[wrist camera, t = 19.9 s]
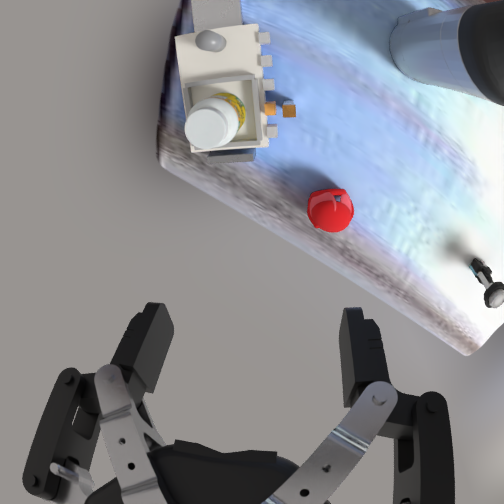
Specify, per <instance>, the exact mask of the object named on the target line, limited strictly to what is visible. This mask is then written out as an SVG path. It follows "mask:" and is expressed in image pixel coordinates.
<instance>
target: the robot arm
mask: <svg viewBox="0 0 504 504" xmlns="http://www.w3.org/2000/svg"><path fill="white" fill-rule="evenodd" d="M389 43H390V52H391V56H392V58H393V60H394V62H395V64H396V65H397V67H398V68H399V69H400V71H401V72H402V73H403V74H405V75H406V76H407V77H408V78H410V79H412V80H414V81H417V82H420V83H423V84H428V85H434V86H438V87H442V88H447V89H451V90H454V91H458V92H462V93H466V94H469V95H472V96H476V97H479V98H482V99H485V100H488V101H491V102H494V103H497V104H499V105H502V106H504V0H502V1H496V2H490V3H485V4H479V5H473V6H467V7H462V8H457V9H452V10H447V11H441V10H438V9H434V8H429V7H428V8H425V9H422V10H418V11H415V12H412V13H410V14H407V15H404V16H401V17H399V18H398V25H397V26H396V28H395V29H394V30H393V32H392V34H391V36H390V42H389ZM173 335H174V326H173V323H172V320H171V318H170V316H169V313H168V311H167V308H166V306H165V304H163V303H153V302H148V303H147V304H146V306H145V308H144V310H143V312H142V313H140V312H139V313H137V314H136V315H135V316H134V317H133V318H132V319H131V321H130V323H129V325H128V327H127V330H126V331H125V333H124V335H123V338H122V339H121V342H120V343H119V345H118V348H117V350H116V352H115V354H114V356H113V358H112V361H111V363H110V364H107V365H104V366H102V367H101V368H100V369H99V370H98V371H97V372H96V373H89V374H81V373H80V372H79V371H78V370H77V369H75V368H67V369H65V370H63V371H62V372H61V373H60V375H59V376H58V379H57V381H56V383H55V385H54V388H53V390H52V392H51V395H50V397H49V400H48V402H47V405H46V407H45V410H44V412H43V415H42V418H41V420H40V423H39V426H38V428H37V431H36V434H35V438H34V440H33V443H32V446H31V449H30V452H29V456H28V459H27V462H26V465H25V469H24V473H23V478H22V479H23V485H24V487H25V489H26V490H27V491H28V492H29V493H30V494H32V495H34V496H37V497H40V498H42V499H44V500H46V501H49V502H52V503H55V504H331V503H330V502H329V501H328V500H327V499H328V498H329V497H330V496H331V495H332V494H333V492H334V491H335V490H336V489H337V488H338V487H339V486H340V484H341V483H342V482H343V481H344V480H345V478H346V477H347V476H348V475H349V473H350V472H351V471H352V470H353V468H354V467H355V466H356V464H357V463H358V462H359V461H360V459H361V458H362V457H363V455H364V454H365V452H366V451H367V449H368V447H369V445H370V444H371V442H372V441H373V439H374V438H375V436H376V435H379V436H384V437H388V438H394V491H393V492H394V493H393V504H455V478H454V460H453V459H454V458H453V446H452V436H451V428H450V420H449V413H448V407H447V402H446V400H445V398H444V397H443V396H442V395H441V394H439V393H437V392H433V391H432V392H431V391H430V392H426V393H424V394H423V395H421V396H420V397H419V396H414V395H409V394H404V393H401V392H399V391H398V390H396V389H395V388H394V387H393V386H392V384H391V382H390V379H389V374H388V369H387V363H386V358H385V353H384V349H383V343H382V340H381V339H382V338H381V334H380V329H379V327H378V326H377V324H376V323H375V322H374V320H373V319H364V316H363V311H362V308H361V307H355V308H354V307H353V308H344V310H343V315H342V320H341V326H340V331H339V347H340V357H341V370H342V384H343V399H344V408H346V407H351V409H350V411H349V412H348V413H347V415H346V416H345V417H344V418H343V420H342V421H341V422H340V424H339V425H338V426H337V427H336V428H335V429H334V430H333V431H332V432H331V433H330V434H329V435H328V436H327V438H326V439H325V440H324V441H323V442H322V443H321V444H320V446H319V447H318V448H317V449H316V450H315V451H314V453H313V454H312V455H311V456H310V457H309V458H308V459H307V460H306V461H305V462H304V463H303V464H302V466H301V467H299V466H298V465H296V464H295V463H293V462H291V461H290V460H288V459H285V458H283V457H279V456H277V452H273V451H257V450H248V451H241V452H232V453H221V452H218V451H216V450H213V449H211V448H208V447H205V446H203V445H201V444H198V443H192V442H186V441H181V440H175V443H174V444H172V445H166V444H165V442H164V441H163V439H162V437H161V436H160V435H159V433H158V431H157V429H156V427H155V425H154V423H153V420H152V418H151V415H150V413H149V411H148V408H147V405H146V403H145V400H144V398H143V396H144V393H145V392H148V393H153V392H154V389H155V386H156V384H157V381H158V378H159V374H160V372H161V369H162V366H163V363H164V360H165V358H166V355H167V352H168V349H169V346H170V343H171V341H172V338H173ZM78 406H79V408H78V411H77V414H76V417H75V420H74V423H73V425H72V421H73V419H74V415H75V413H76V410H77V407H78ZM100 430H101V431H102V435H103V438H104V441H105V444H106V448H107V450H108V454H109V457H110V460H111V462H112V466H113V468H114V471H115V474H116V476H117V477H115V478H114V479H113V480H111V481H110V482H108V483H106V484H105V485H103V486H102V487H100V488H99V489H97V490H96V491H94V492H93V490H92V488H93V487H94V481H93V480H92V477H91V475H90V473H89V469H90V465H91V461H92V458H93V454H94V450H95V447H96V443H97V440H98V436H99V433H100Z"/></svg>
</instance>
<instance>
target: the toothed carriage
mask: <svg viewBox="0 0 504 504" xmlns="http://www.w3.org/2000/svg"><path fill="white" fill-rule="evenodd" d="M175 42H176V51H177V59H178V66H179V74H180V81H181V88H182V95H183V102H184V109H185V115H186V120H187V117H188V114H189V112H190V110H191V108H192V107H193V106H194V105H195V104H196V103H198V102H199V101H201V100H203V99H205V98H208V97H210V96H212V95H214V94H217V93H222V92H227V93H232V94H234V95H236V96H237V97H238V98H240V100H241V101H242V102H243V103H244V105H245V108H246V119H245V122H244V123H243V125H242V126H241V128H240V129H239V131H238V132H237V133H236V135H235V136H234V138H233V139H232V140H231V141H230V142H228V143H227V144H225V145H223V146H220V147H215V148H211V149H201V148H198V147H196V146H194V145H193V144H191V143H190V146H191V152H192V153H193V152H203V151H214V150H226V149H241V148H259V147H269V138H277V137H278V128H277V124H268V122H267V115H276V101H268V102H266V97H265V91H266V90H274V89H275V87H274V79H264V74H263V67H273V63H272V56H271V55H266V56H262V53H261V45H267V44H271V41H270V34H269V32H263V33H260V32H259V25H258V24H248V25H238V26H230V27H223V28H216V29H210V30H204V31H199V32H194V33H189V34H184V35H180V36H175Z"/></svg>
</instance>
